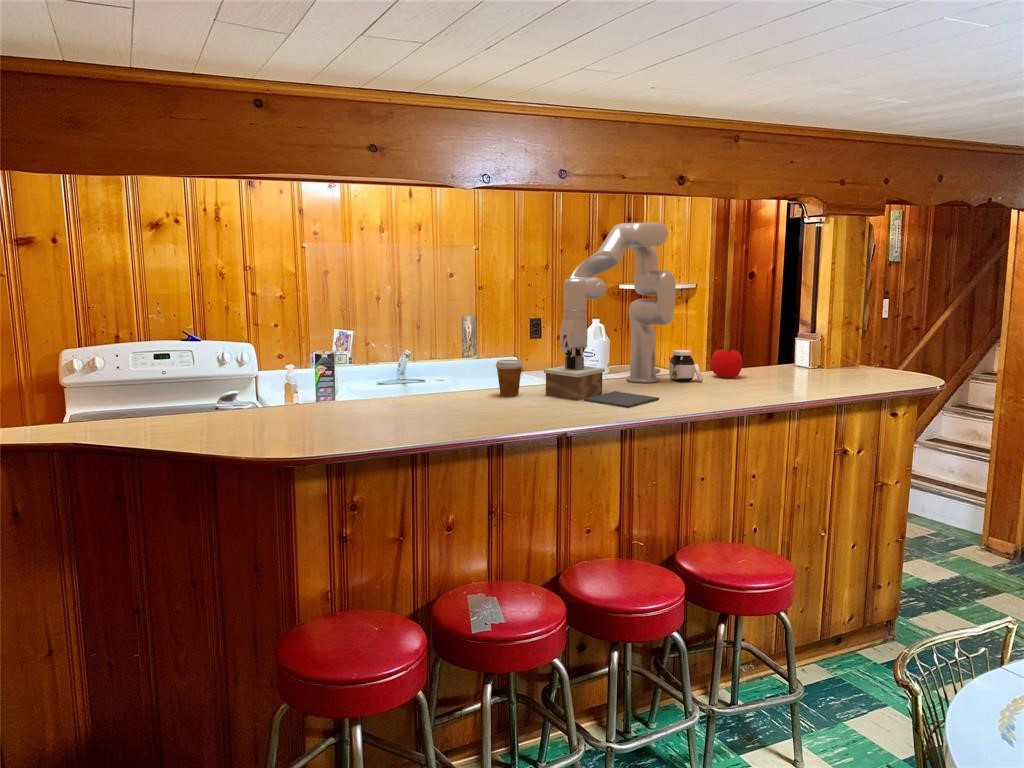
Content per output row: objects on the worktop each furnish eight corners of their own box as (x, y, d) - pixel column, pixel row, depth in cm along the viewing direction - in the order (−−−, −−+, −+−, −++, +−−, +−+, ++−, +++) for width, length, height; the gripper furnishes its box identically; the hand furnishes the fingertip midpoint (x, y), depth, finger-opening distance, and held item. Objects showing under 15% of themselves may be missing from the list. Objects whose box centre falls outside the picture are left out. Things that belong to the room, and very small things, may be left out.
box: (571, 390, 267) (571, 368, 266) (602, 394, 258) (602, 372, 256) (545, 395, 257) (545, 372, 256) (577, 400, 248) (577, 377, 246)
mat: (615, 393, 260) (615, 391, 260) (659, 399, 248) (659, 397, 247) (583, 400, 247) (583, 398, 247) (628, 408, 235) (628, 405, 235)
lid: (571, 370, 267) (571, 352, 266) (604, 374, 257) (604, 355, 255) (543, 375, 256) (543, 356, 255) (577, 380, 246) (577, 360, 245)
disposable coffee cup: (525, 393, 262) (525, 359, 260) (519, 398, 253) (519, 363, 251) (499, 392, 264) (499, 359, 262) (492, 397, 255) (492, 362, 253)
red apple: (726, 380, 284) (728, 351, 282) (702, 376, 296) (703, 347, 294) (749, 378, 290) (750, 349, 288) (724, 373, 302) (725, 345, 300)
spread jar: (665, 379, 289) (666, 349, 287) (691, 377, 292) (692, 348, 290) (681, 384, 278) (682, 353, 276) (707, 382, 281) (709, 352, 279)
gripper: (580, 312, 261) (580, 364, 264) (550, 315, 249) (550, 369, 253) (597, 313, 256) (597, 366, 259) (567, 317, 244) (567, 371, 248)
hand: (574, 367), depth 256 cm, fingers closed on lid, 3 cm apart
